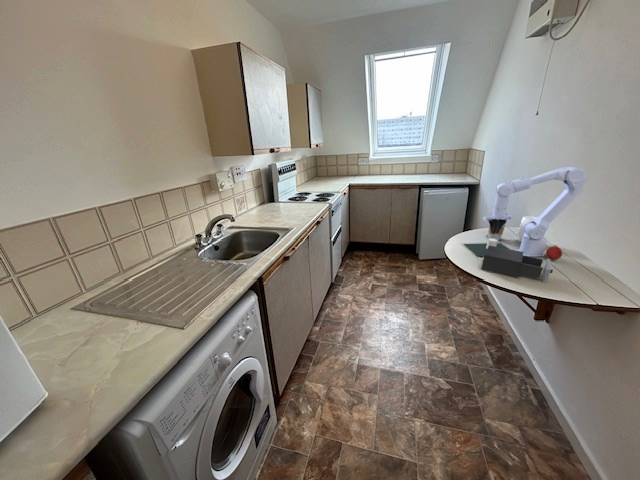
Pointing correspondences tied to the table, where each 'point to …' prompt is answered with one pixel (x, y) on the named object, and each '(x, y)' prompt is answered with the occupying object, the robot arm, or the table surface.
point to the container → (491, 242)
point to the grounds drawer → (535, 268)
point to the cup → (523, 223)
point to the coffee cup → (496, 235)
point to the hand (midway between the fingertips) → (494, 232)
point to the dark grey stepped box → (502, 261)
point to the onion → (554, 253)
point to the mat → (481, 248)
